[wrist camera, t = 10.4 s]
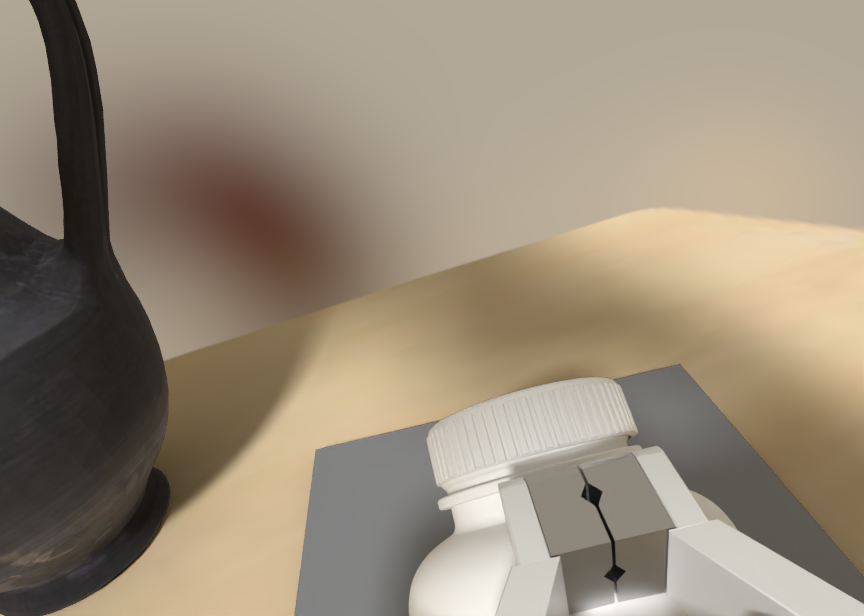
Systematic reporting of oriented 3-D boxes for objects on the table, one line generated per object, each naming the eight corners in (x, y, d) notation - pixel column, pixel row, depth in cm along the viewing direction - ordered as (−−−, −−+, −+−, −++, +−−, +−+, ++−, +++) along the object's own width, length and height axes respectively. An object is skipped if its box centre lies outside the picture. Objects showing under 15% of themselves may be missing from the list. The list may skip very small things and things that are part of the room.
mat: (256, 1009, 14) (244, 1004, 14) (320, 459, 31) (315, 449, 31) (1069, 839, 14) (1081, 829, 13) (679, 374, 31) (680, 364, 30)
